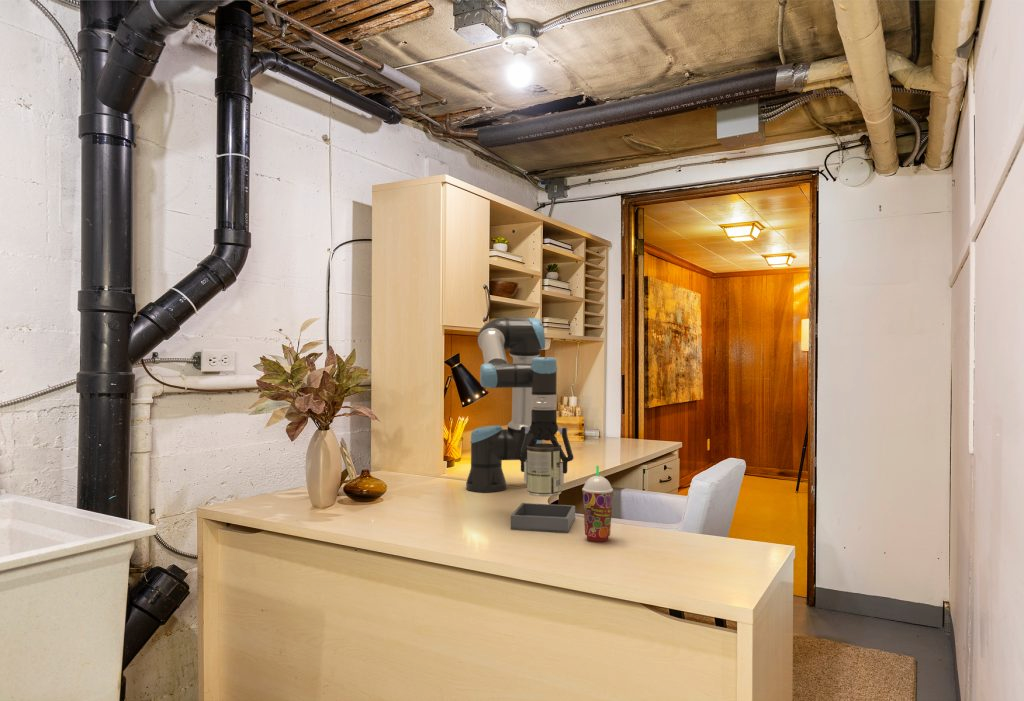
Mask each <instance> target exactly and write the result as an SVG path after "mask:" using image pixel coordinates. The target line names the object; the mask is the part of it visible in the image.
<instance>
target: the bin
mask: <svg viewBox="0 0 1024 701" xmlns="http://www.w3.org/2000/svg"><path fill="white" fill-rule="evenodd" d="M574 519H575V520H576V505H570V504H569V505H567V504H549V503H548V504H546V503H531V502H528V503H527V502H522V503H521V504H520V505H519V506H518V507H517V508H516V509H515V510H514V511H513V512H512V513H511V515H510V530H513V531H531V532H545V533H546V532H548V533H564V534H568V533H569V532H570V529H571V527H572V526H573V524H574V522H575V520H574ZM573 521H574V522H573ZM572 523H573V524H572ZM571 525H572V526H571Z"/></svg>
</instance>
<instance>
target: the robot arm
mask: <svg viewBox="0 0 1024 701" xmlns="http://www.w3.org/2000/svg"><path fill="white" fill-rule="evenodd" d="M545 336H546V335H545V330H544V326H543V323H542V321H541V320H540V318H536V317H535V318H534V317H498V318H494V319H492V320H489V321H488V322H486V323H485V324H484V325H482V327H481V328H480V330H479V331H478V334H477V344H478V347H479V349H480V350H481V353H482V357H483V363H482V364H481V365H480V367H479V369H480V370H479V383H480V386H481V387H483V388H490V389H496V388H497V389H499V388H501V389H503V388H504V389H507V388H512V394H511V396H512V398H511V400H512V401H511V421H510V422H508V423H507V429H504V428H503V427H502V426H501V425H499V424H498V425H497V424H496V425H486V426H480V427H476V428H474V429H473V430H472V431H471V434H470V442H469V443H470V469H469V473H468V476H467V479H466V481H465V482H466V484H465V485H466V486H465V488H466V490H467V491H470V492H474V493H475V492H476V493H477V492H478V493H495V492H500V491H504V490H506V489H507V480H506V478H505V474H504V472H503V468H502V467H503V466H502V465H503V464H502V463H503V462H502V461H520V471H521V473H523V474H524V475H523V481H524V482H523V483H524V484H525V485H527V445H528V446H530V447H532V446H534V444H541V443H543V441H550V442H551V443H550V444H553V445H554V447H559V446H560V443H559V441H558V439H557V438H556V434H557V432H559V435H561V437H562V441H563V445H564V448H565V451H566V454H565V452H564V450H563V449H562V447H561V449H560V458H561V463H560V485H561V486H564V485H565V474H568V463H569V462H571V461H573V460H574V458H575V457H574V454H573V451H572V447H571V444H570V441H569V437H568V427H567V426H564V427H562V426H561V427H560V426H558V424H557V422H558V421H557V420H558V419H557V416H558V415H557V414H558V411H557V407H558V406H557V405H558V404H557V403H558V401H557V396H558V394H557V383H558V382H557V379H558V378H557V377H558V376H557V375H558V374H557V372H558V367H557V359H556V358H555V357H553V356H552V357H547V356H546V357H545V356H544V357H543V356H541V351H543V350H545V349H546V337H545ZM506 350H508V354H509V356H510V358H512V363H509V362H508V359H507V355H506ZM566 455H567V456H566Z"/></svg>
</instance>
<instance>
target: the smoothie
mask: <svg viewBox="0 0 1024 701" xmlns="http://www.w3.org/2000/svg"><path fill="white" fill-rule="evenodd" d="M599 467H600V466H599V465H596V466H595V468H596V470H595V471H596V472H595V474H596V475H593V476H591V477H589V478H588V479H587V480H586V481H585V483H584V485H583V487H582V489H581V491H582V503H583V505H582V506H583V519H584V520H583V522H584V535H585V536H586V539H587V541H590V542H593V541H596V542H595V543H604V542H607V541H608V540H609V537H610V536H611V526H612V509H613V491H614V488H613V487H612V485H611V483H610V481H609V480H608V479H607V478H605V477H604V476H602V475H599V474H600V472H599V471H600V468H599ZM601 541H602V542H601ZM603 541H604V542H603Z"/></svg>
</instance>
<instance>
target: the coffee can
mask: <svg viewBox="0 0 1024 701" xmlns="http://www.w3.org/2000/svg"><path fill="white" fill-rule="evenodd" d="M559 445H560V444H559ZM561 448H562V445H560V446H559V447H554V445H553V444H552V443H546V442H545V443H543V442H542V443H541V444H534V446H532V447H530V446H528V445H527V460H526V461H527V484H526V485H527V488H526V493H527V494H528V495H529V496H535V497H554V496H560V494H562V485H560V463H561V462H562V460H561V458H560V449H561Z"/></svg>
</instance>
